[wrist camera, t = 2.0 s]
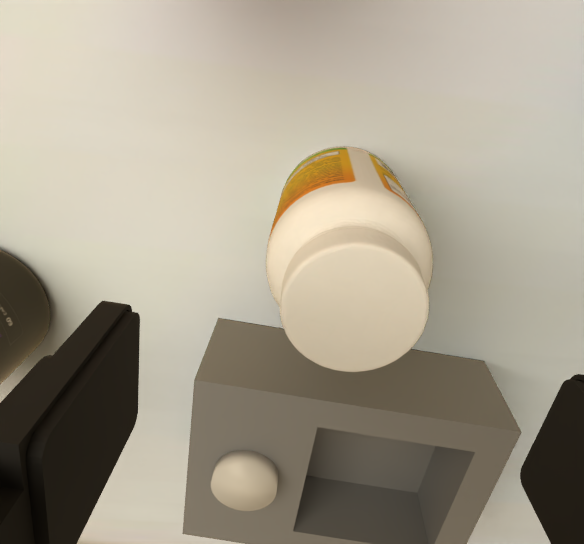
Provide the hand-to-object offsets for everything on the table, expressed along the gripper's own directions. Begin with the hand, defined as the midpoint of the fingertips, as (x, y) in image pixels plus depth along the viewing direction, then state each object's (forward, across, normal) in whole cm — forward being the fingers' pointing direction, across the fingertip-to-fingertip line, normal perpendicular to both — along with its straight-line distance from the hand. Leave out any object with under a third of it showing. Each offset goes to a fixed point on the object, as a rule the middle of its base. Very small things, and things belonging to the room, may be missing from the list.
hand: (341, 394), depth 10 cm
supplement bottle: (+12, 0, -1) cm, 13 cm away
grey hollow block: (+12, -2, +11) cm, 17 cm away
